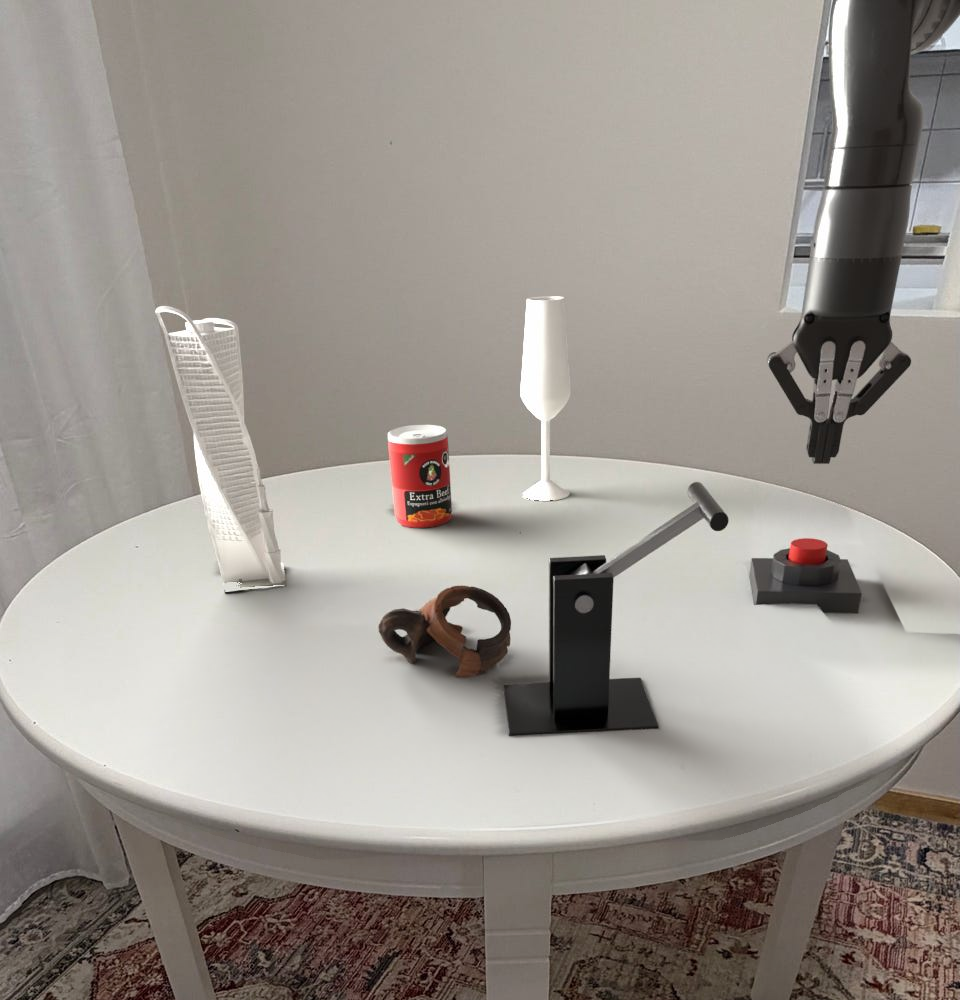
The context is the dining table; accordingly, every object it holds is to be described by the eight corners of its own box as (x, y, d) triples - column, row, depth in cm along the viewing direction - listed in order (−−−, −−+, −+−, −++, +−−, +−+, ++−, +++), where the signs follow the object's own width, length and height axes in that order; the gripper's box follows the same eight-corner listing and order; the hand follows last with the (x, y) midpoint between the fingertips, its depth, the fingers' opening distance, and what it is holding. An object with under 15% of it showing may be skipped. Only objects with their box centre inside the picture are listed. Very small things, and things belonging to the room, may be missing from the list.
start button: (822, 555, 99) (825, 538, 98) (826, 567, 96) (829, 549, 95) (786, 554, 99) (789, 537, 98) (789, 566, 96) (792, 549, 95)
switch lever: (710, 498, 74) (695, 472, 73) (735, 530, 67) (720, 502, 66) (567, 593, 78) (551, 570, 77) (578, 632, 71) (561, 607, 70)
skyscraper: (211, 594, 107) (150, 311, 91) (212, 571, 114) (156, 302, 97) (286, 586, 109) (239, 304, 92) (283, 563, 115) (239, 296, 99)
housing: (844, 579, 103) (851, 542, 101) (858, 614, 95) (865, 575, 93) (749, 577, 105) (753, 541, 102) (754, 612, 97) (760, 573, 94)
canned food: (407, 532, 123) (399, 441, 116) (386, 516, 129) (378, 429, 122) (462, 522, 125) (457, 433, 119) (439, 507, 131) (433, 421, 125)
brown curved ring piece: (481, 639, 95) (509, 579, 88) (498, 715, 91) (529, 658, 84) (364, 628, 91) (384, 564, 84) (376, 707, 86) (398, 646, 80)
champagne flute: (512, 495, 134) (507, 299, 120) (545, 485, 138) (544, 294, 124) (546, 503, 130) (546, 302, 116) (579, 493, 134) (583, 296, 120)
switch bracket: (639, 689, 84) (648, 544, 76) (658, 739, 76) (669, 584, 69) (503, 696, 84) (499, 551, 76) (509, 746, 76) (504, 592, 69)
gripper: (780, 256, 80) (752, 471, 90) (947, 252, 78) (899, 473, 88) (773, 249, 86) (747, 452, 96) (928, 244, 84) (885, 452, 94)
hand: (820, 461), depth 92 cm, fingers closed
